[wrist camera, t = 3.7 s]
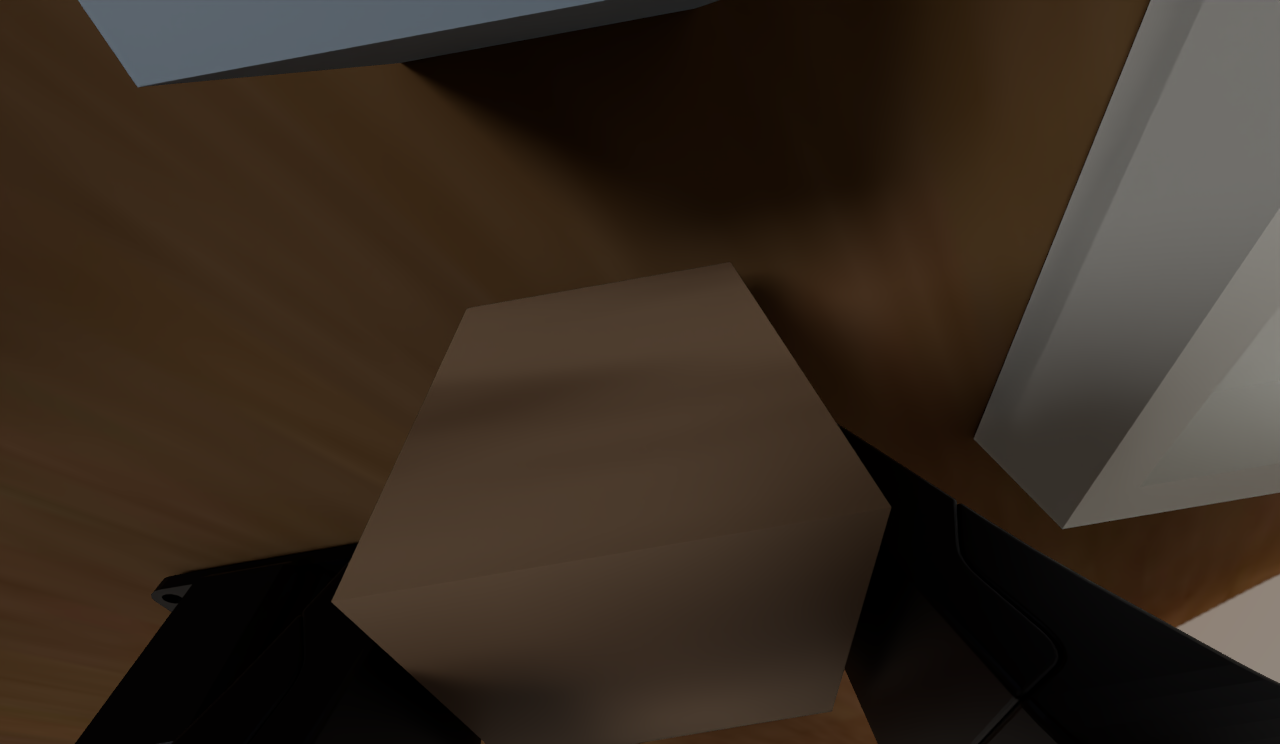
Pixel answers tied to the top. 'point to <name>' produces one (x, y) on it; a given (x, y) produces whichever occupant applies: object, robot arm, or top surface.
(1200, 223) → the tray
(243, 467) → the top surface
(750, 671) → the walnut block
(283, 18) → the slate block
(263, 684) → the robot arm
